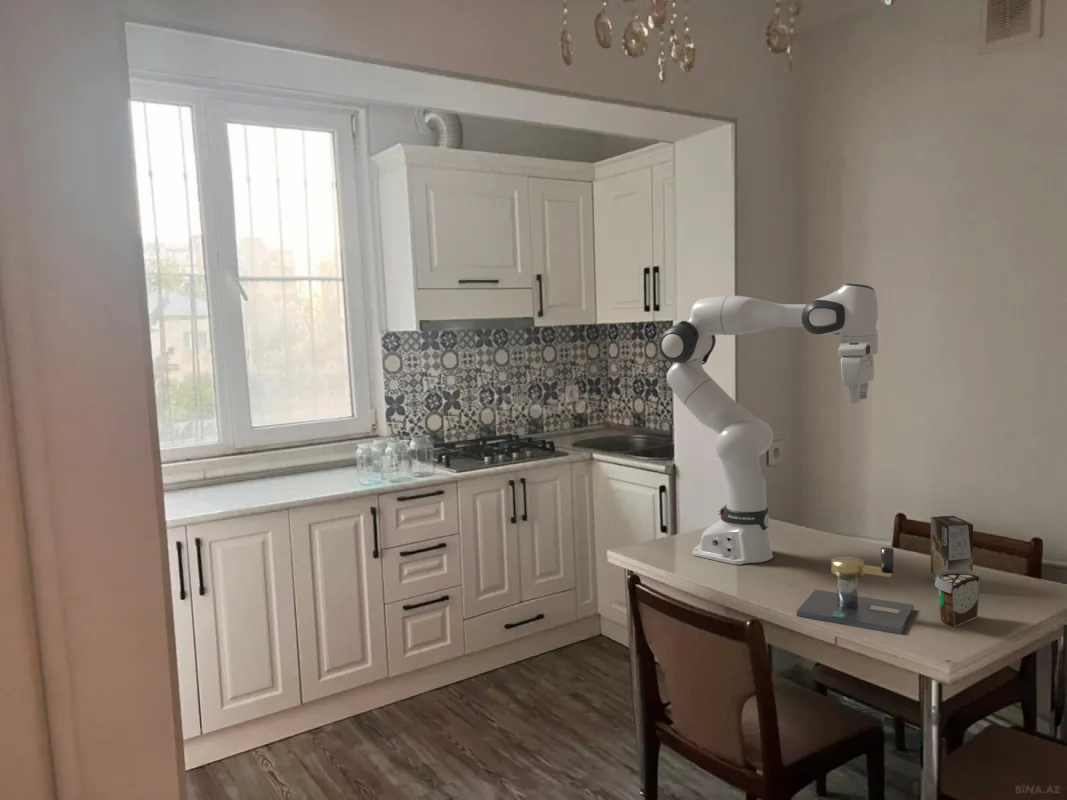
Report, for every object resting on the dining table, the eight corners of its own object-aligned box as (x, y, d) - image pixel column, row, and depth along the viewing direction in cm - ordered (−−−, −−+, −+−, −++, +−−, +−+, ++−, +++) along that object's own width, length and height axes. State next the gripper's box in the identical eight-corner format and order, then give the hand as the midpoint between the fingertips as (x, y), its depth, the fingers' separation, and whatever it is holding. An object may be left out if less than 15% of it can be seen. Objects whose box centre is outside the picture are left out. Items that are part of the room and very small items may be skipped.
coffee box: (974, 588, 191) (975, 524, 189) (948, 589, 191) (948, 525, 189) (953, 576, 200) (954, 515, 198) (928, 577, 200) (929, 516, 198)
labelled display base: (796, 615, 178) (796, 580, 178) (815, 594, 192) (815, 561, 191) (901, 634, 166) (901, 596, 165) (913, 609, 179) (913, 574, 178)
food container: (953, 607, 179) (954, 565, 178) (981, 615, 174) (981, 572, 173) (922, 620, 173) (923, 577, 172) (950, 629, 167) (950, 584, 166)
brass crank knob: (828, 574, 179) (827, 546, 179) (835, 566, 185) (835, 538, 184) (890, 583, 172) (890, 553, 171) (896, 574, 178) (896, 545, 177)
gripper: (854, 345, 209) (854, 396, 210) (836, 349, 192) (836, 405, 194) (880, 345, 206) (880, 397, 207) (863, 349, 189) (863, 405, 190)
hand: (859, 401), depth 200 cm, fingers open, 8 cm apart
